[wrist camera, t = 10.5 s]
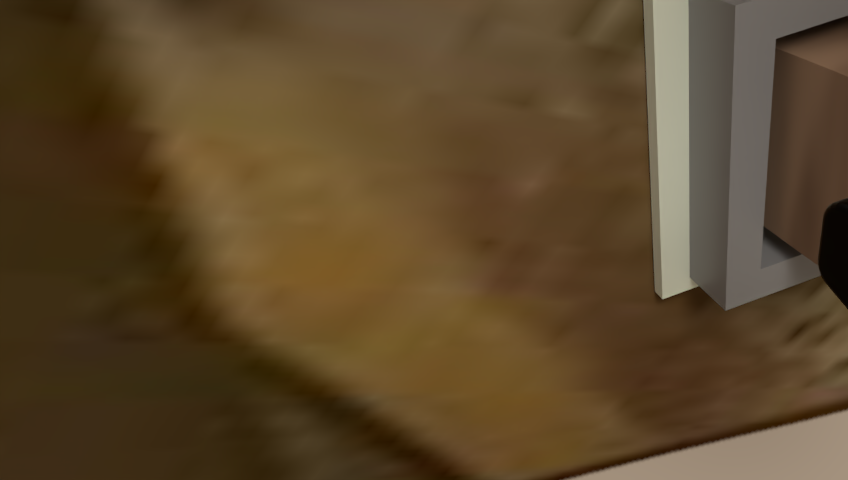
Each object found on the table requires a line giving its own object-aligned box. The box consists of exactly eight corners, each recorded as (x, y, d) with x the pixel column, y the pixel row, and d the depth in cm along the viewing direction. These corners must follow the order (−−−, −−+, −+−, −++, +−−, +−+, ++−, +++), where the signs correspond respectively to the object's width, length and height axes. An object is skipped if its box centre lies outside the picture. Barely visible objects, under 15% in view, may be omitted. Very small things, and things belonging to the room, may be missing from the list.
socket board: (963, -123, 20) (1052, -117, 18) (900, 202, 26) (961, 235, 24) (642, -25, 19) (696, -5, 17) (654, 291, 25) (696, 334, 23)
